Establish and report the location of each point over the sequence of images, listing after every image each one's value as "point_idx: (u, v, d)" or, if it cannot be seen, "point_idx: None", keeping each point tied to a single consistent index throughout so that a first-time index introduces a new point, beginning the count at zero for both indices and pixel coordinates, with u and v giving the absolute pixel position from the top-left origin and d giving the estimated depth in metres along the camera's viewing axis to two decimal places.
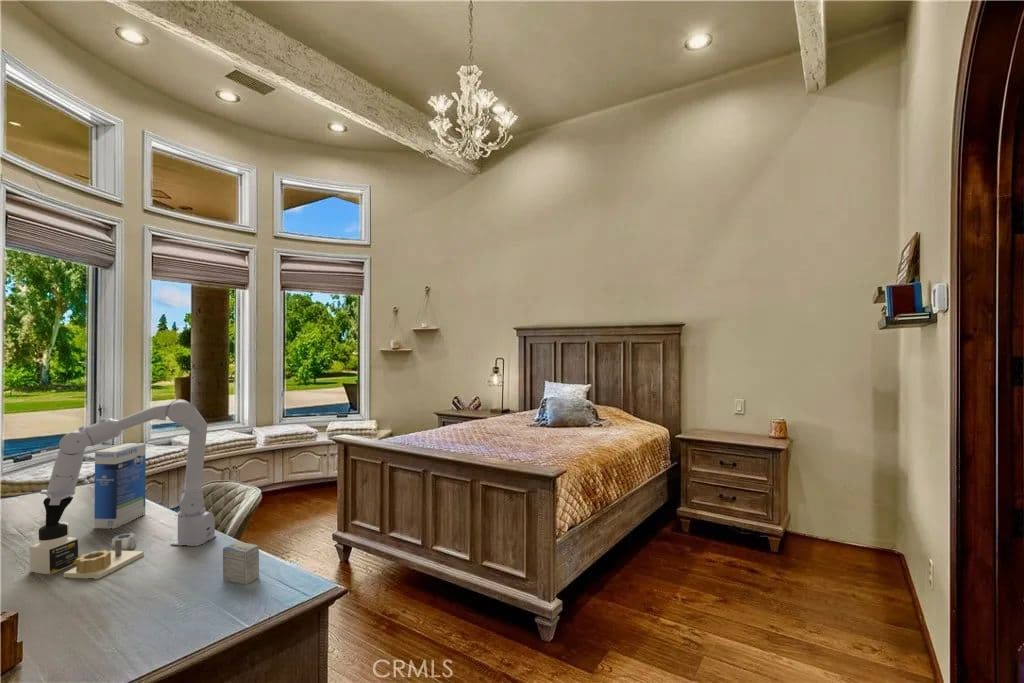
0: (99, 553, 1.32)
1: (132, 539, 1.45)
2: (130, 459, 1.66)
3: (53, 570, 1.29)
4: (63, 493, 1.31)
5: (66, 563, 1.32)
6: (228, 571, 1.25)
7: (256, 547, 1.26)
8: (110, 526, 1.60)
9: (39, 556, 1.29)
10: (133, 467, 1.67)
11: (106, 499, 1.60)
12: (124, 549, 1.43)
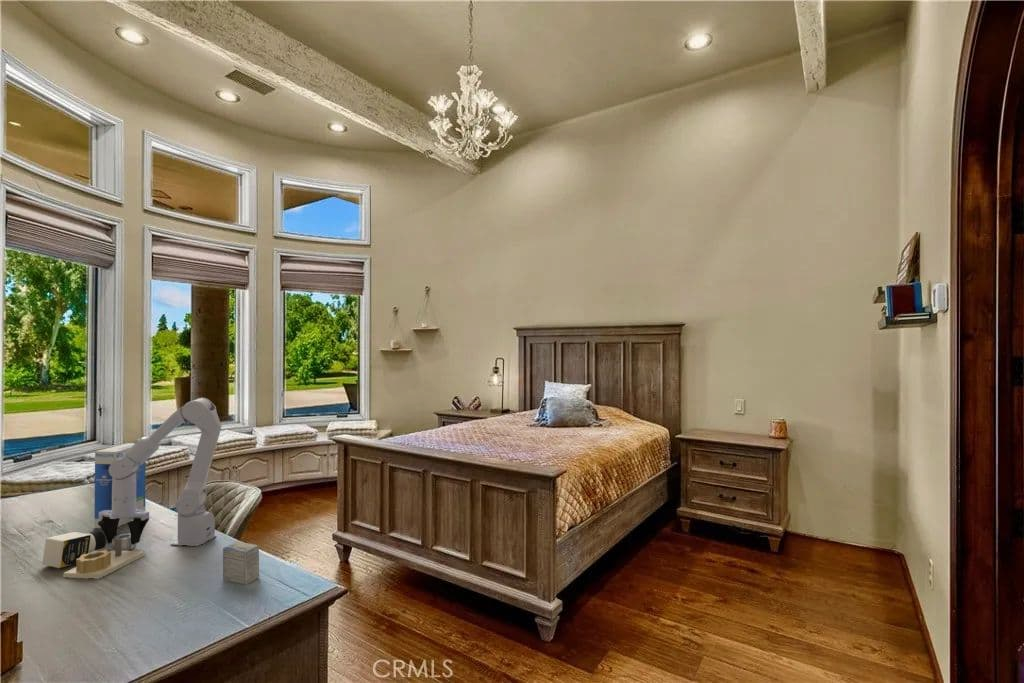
0: (99, 553, 1.32)
1: None
2: None
3: (66, 543, 1.32)
4: (135, 511, 1.46)
5: (66, 555, 1.32)
6: (228, 571, 1.25)
7: (256, 547, 1.26)
8: None
9: (74, 535, 1.37)
10: None
11: (106, 499, 1.60)
12: (124, 549, 1.43)
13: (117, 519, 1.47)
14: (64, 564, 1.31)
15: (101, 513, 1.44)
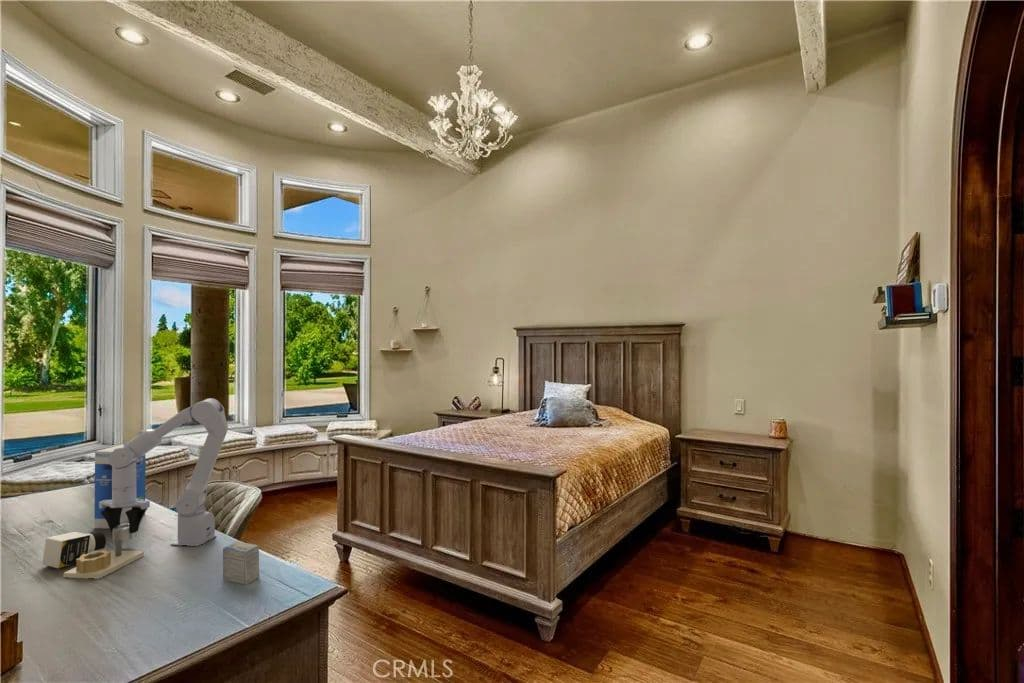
0: (99, 553, 1.32)
1: None
2: None
3: (64, 543, 1.32)
4: (135, 500, 1.46)
5: (64, 555, 1.32)
6: (228, 571, 1.25)
7: (256, 547, 1.26)
8: None
9: (74, 535, 1.37)
10: None
11: (106, 499, 1.60)
12: (125, 539, 1.43)
13: (120, 509, 1.47)
14: (63, 564, 1.31)
15: (101, 503, 1.44)
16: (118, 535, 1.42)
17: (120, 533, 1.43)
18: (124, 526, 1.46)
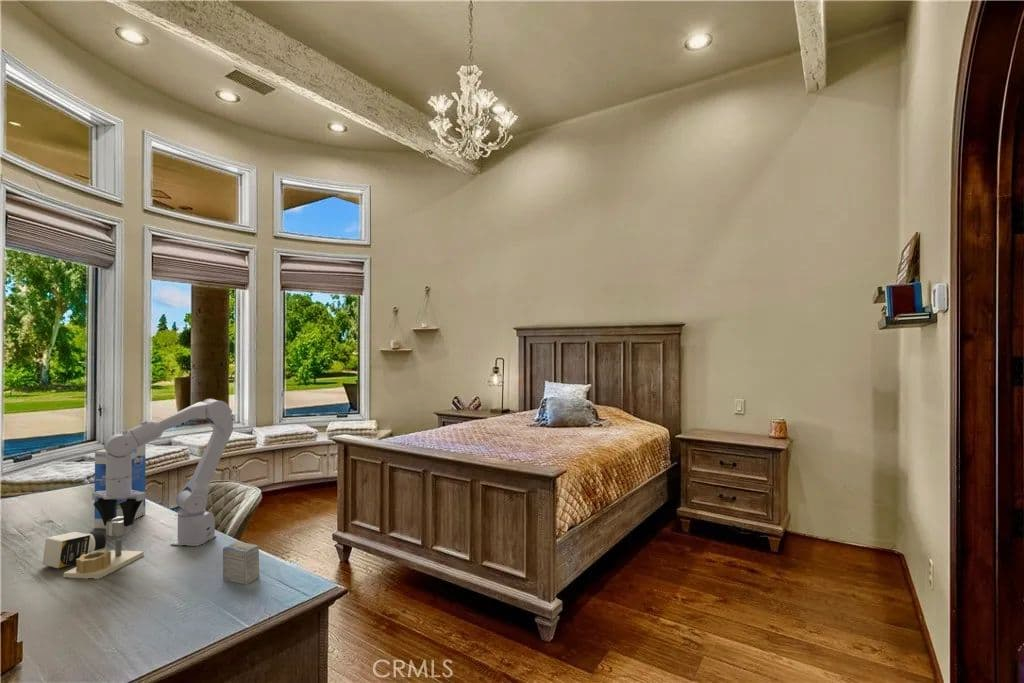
0: (99, 553, 1.32)
1: None
2: None
3: (64, 543, 1.32)
4: (130, 491, 1.38)
5: (65, 555, 1.32)
6: (228, 571, 1.25)
7: (256, 547, 1.26)
8: None
9: (74, 535, 1.37)
10: (133, 467, 1.67)
11: None
12: (119, 533, 1.36)
13: (114, 500, 1.39)
14: (63, 564, 1.31)
15: (94, 494, 1.37)
16: (112, 529, 1.35)
17: (115, 527, 1.35)
18: (118, 519, 1.39)
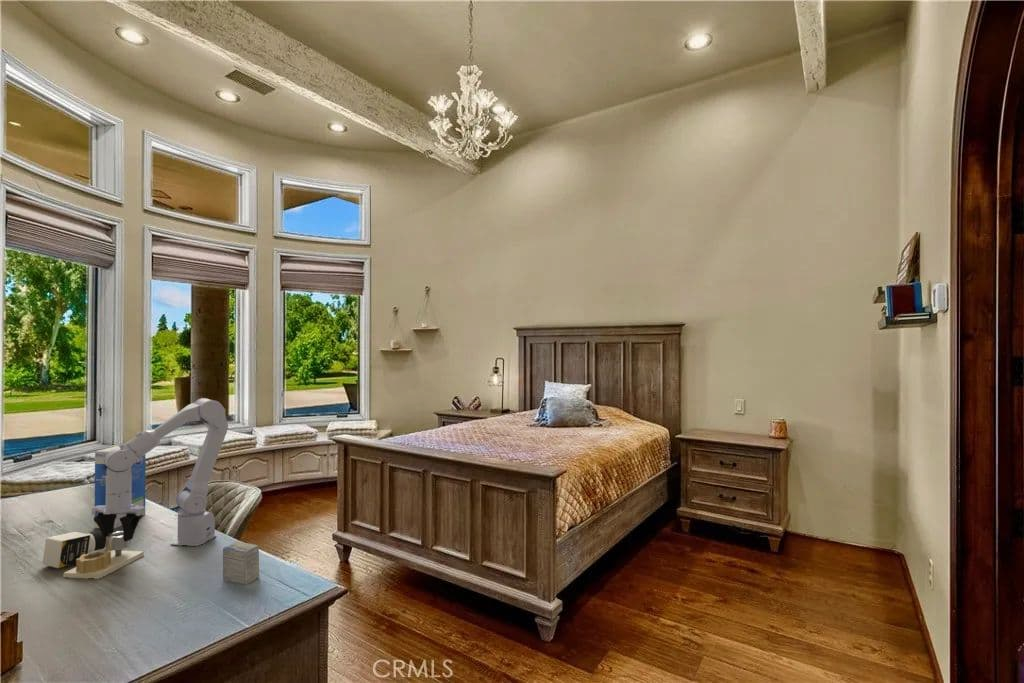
0: (99, 553, 1.32)
1: None
2: None
3: (64, 543, 1.32)
4: (130, 506, 1.38)
5: (65, 555, 1.32)
6: (228, 571, 1.25)
7: (256, 547, 1.26)
8: None
9: (74, 535, 1.37)
10: (133, 467, 1.67)
11: None
12: (119, 548, 1.36)
13: (114, 515, 1.39)
14: (63, 564, 1.31)
15: (94, 508, 1.37)
16: (112, 544, 1.35)
17: (115, 542, 1.35)
18: (118, 534, 1.39)
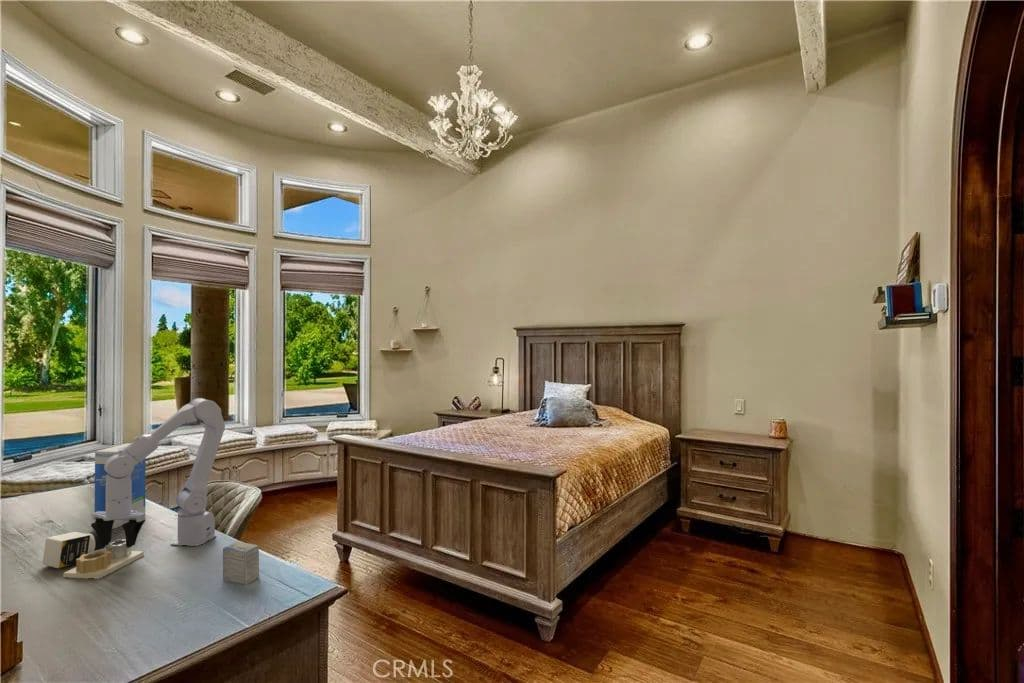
0: (99, 553, 1.32)
1: None
2: None
3: (64, 543, 1.32)
4: (130, 512, 1.38)
5: (64, 555, 1.32)
6: (228, 571, 1.25)
7: (256, 547, 1.26)
8: None
9: (74, 535, 1.37)
10: None
11: None
12: (120, 556, 1.36)
13: (111, 521, 1.39)
14: (63, 564, 1.31)
15: (94, 514, 1.37)
16: (112, 552, 1.35)
17: (115, 550, 1.35)
18: None
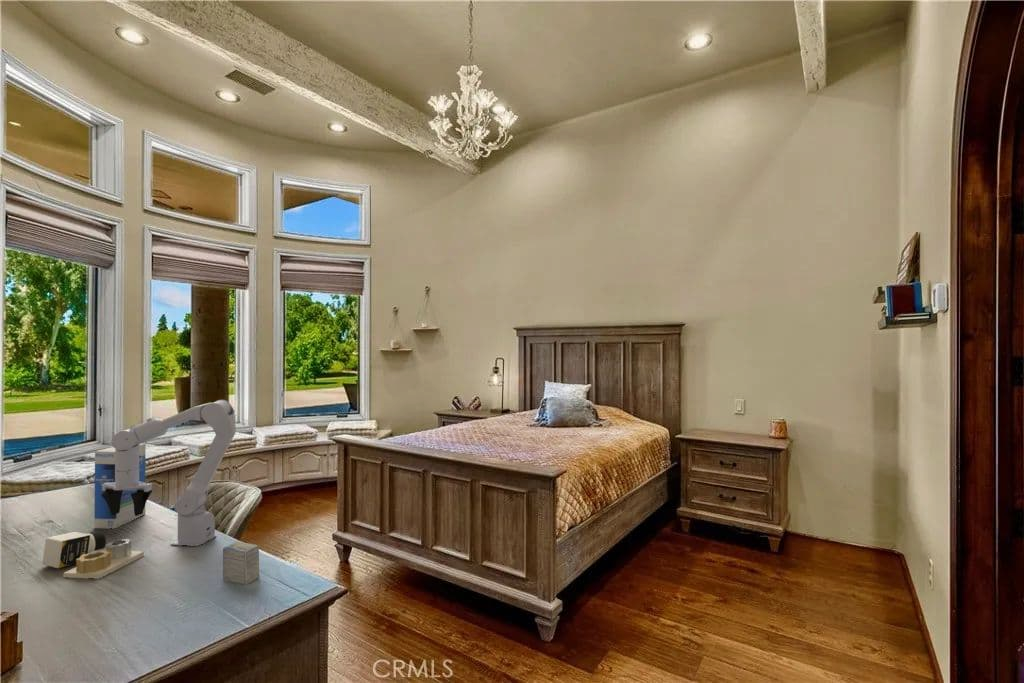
0: (99, 553, 1.32)
1: (128, 545, 1.37)
2: None
3: (64, 543, 1.32)
4: (138, 483, 1.47)
5: (64, 555, 1.32)
6: (228, 571, 1.25)
7: (256, 547, 1.26)
8: (110, 526, 1.60)
9: (74, 535, 1.37)
10: None
11: None
12: (120, 556, 1.36)
13: (120, 491, 1.48)
14: (63, 564, 1.31)
15: (104, 485, 1.45)
16: (112, 552, 1.35)
17: (115, 550, 1.35)
18: None
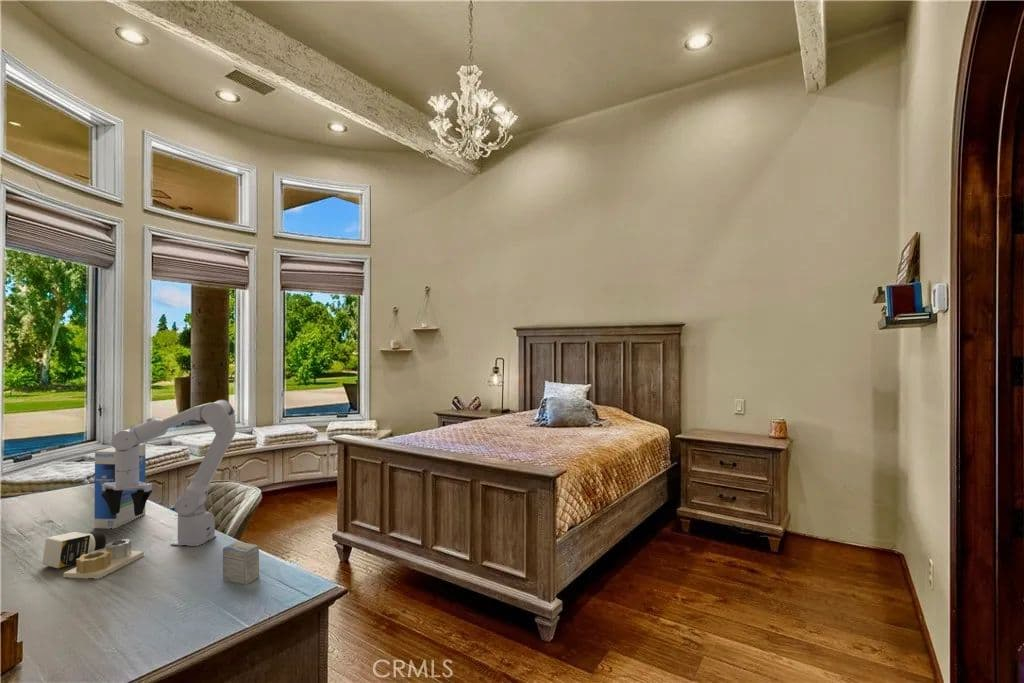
0: (99, 553, 1.32)
1: (128, 545, 1.37)
2: None
3: (64, 543, 1.32)
4: (138, 483, 1.47)
5: (64, 555, 1.32)
6: (228, 571, 1.25)
7: (256, 547, 1.26)
8: (110, 526, 1.60)
9: (74, 535, 1.37)
10: None
11: None
12: (120, 556, 1.36)
13: (120, 491, 1.48)
14: (63, 564, 1.31)
15: (104, 485, 1.45)
16: (112, 552, 1.35)
17: (115, 550, 1.35)
18: None
